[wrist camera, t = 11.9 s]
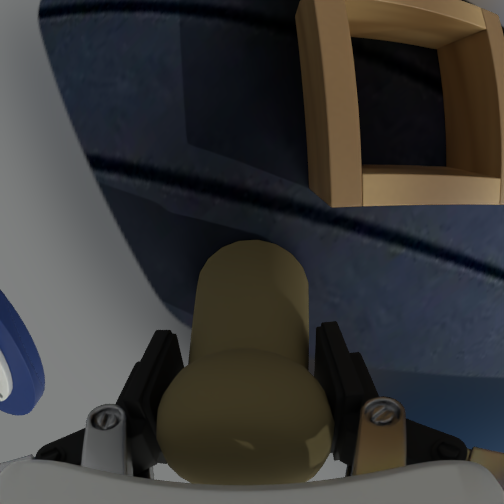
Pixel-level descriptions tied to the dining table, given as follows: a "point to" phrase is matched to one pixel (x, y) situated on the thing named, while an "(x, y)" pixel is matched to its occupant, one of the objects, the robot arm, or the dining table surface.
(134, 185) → the dining table surface
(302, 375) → the olive rounded figure
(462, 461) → the robot arm
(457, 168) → the frame
